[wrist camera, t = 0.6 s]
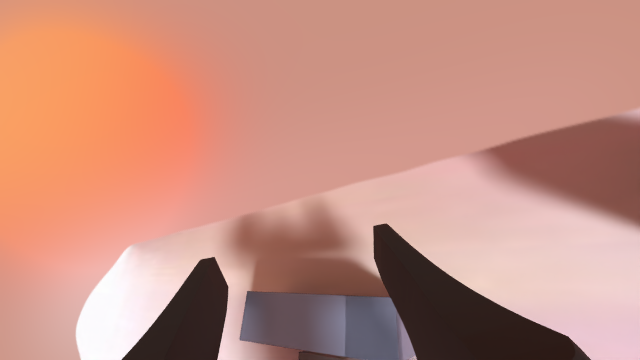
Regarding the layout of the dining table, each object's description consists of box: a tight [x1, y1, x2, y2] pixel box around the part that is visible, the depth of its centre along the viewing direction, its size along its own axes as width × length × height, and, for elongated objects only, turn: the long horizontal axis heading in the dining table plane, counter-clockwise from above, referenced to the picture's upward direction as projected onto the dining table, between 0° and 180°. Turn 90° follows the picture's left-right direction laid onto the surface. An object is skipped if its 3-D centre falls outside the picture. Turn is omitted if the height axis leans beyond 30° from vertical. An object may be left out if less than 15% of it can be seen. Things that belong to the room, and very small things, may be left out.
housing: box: [240, 291, 416, 360], centre depth 23 cm, size 4×14×6 cm, turn 86°
